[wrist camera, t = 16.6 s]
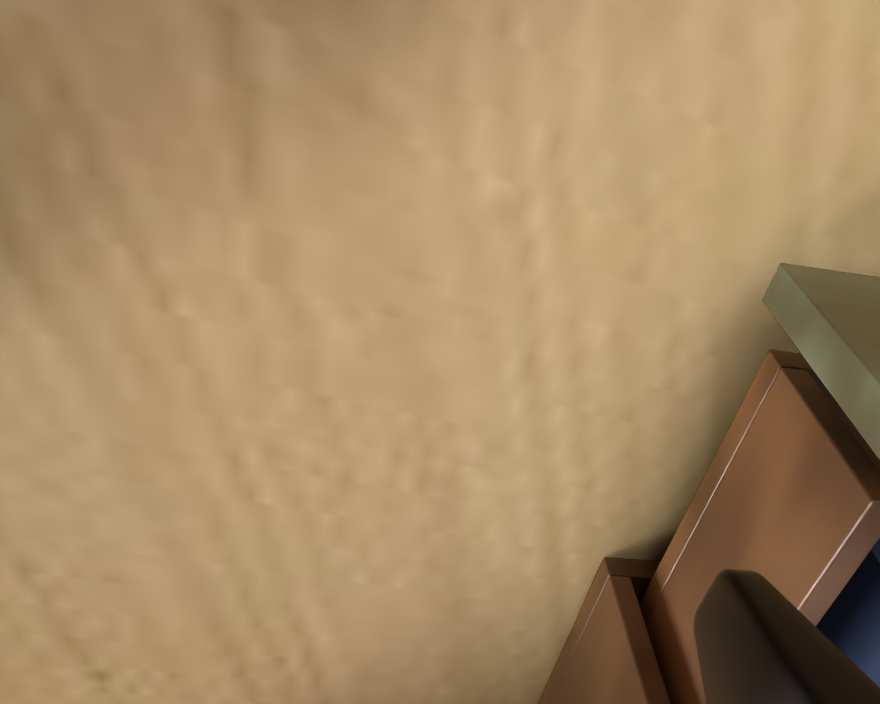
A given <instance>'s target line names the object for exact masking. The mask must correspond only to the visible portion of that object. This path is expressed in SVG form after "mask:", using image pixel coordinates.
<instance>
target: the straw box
mask: <svg viewBox="0 0 880 704" xmlns="http://www.w3.org/2000/svg"><path fill="white" fill-rule="evenodd" d="M816 627H817V628H818V629H819V630H820V631H821V632H822V633H823V634H824V635H825V636H826V637H827V638H828V639H829V640H830V641H831V642H832V643H834V644H835V645H836V646H837V647H838V648H839V649H840V650H841V651H842V652H843V653H844V654H845V655H846V656H847V657H848V658H849V659H850V660H851V661H852V662H853V663H854V664H855V665H856V666H858V667H859V668H860V669H861V670H862V671H863V672H864V673H865V674H866V675H867V676H868V677H869V678H870V679H871V680H872V681H873V682H874V683H875V684H876V685H877V686H878V687H879V688H880V538H879V540H878V541H877V543H876V544H875V545H874V547H873V548H872V549H871V551H870V552H869V554H868V555H867V556H866V558H865V559H864V561H863V562H862V563H861V565H860V566H859V567H858V569H857V570H856V572H855V573H854V574H853V576H852V577H851V578H850V580H849V581H848V583H847V584H846V585H845V587H844V588H843V590H842V591H841V592H840V594H839V595H838V596H837V598H836V599H835V601H834V602H833V603H832V605H831V606H830V608H829V609H828V610H827V612H826V613H825V614H824V616H823V617H822V619H821V620H820V621H819V623H818V624H817V625H816Z"/></svg>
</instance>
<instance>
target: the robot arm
mask: <svg viewBox="0 0 880 704" xmlns="http://www.w3.org/2000/svg"><path fill="white" fill-rule="evenodd" d="M693 631H694V638H695V643H696V649H697V655H698V661H699V667H700V672H701V678H702V684H703V690H704V696H705V701H706V704H880V688H879V687H878V686H877V685H876V684H875V683H874V682H873V681H872V680H871V679H870V678H869V677H868V676H867V675H866V674H865V673H864V672H863V671H862V670H861V669H860V668H859V667H858V666H856V665H855V664H854V663H853V662H852V661H851V660H850V659H849V658H848V657H847V656H846V655H845V654H844V653H843V652H842V651H841V650H840V649H839V648H838V647H837V646H836V645H835V644H834V643H832V642H831V641H830V640H829V639H828V638H827V637H826V636H825V635H824V634H823V633H822V632H821V631H820V630H819V629H818V628H817V627H816V626H815V625H814V624H813V623H812V622H811V621H809V620H808V619H807V618H806V617H805V616H804V615H803V614H802V613H801V612H800V611H799V610H798V609H797V608H796V607H795V606H794V605H793V604H792V603H791V602H790V601H789V600H788V599H786V598H785V597H784V596H783V595H782V594H781V593H780V592H779V591H778V590H777V589H776V588H775V587H774V586H773V585H772V584H771V583H770V582H769V581H768V580H767V579H766V578H764V577H763V576H762V575H761V574H759V573H758V572H755V571H752V570H741V569H729V568H728V569H723V570H722V571H720V572H719V573H718V574H717V575H716V577H715V578H714V580H713V582H712V584H711V585H710V587H709V589H708V591H707V592H706V594H705V596H704V597H703V599H702V601H701V603H700V604H699V606H698V608H697V610H696V612H695V616H694V622H693Z"/></svg>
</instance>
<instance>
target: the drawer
mask: <svg viewBox="0 0 880 704" xmlns="http://www.w3.org/2000/svg"><path fill="white" fill-rule="evenodd" d="M763 302H764V304H765V305H766V306H767V308H768V309H769V311H770V312H771V313H772V315H773V316H774V317H775V319H776V320H777V321H778V323H779V324H780V325H781V327H782V328H783V330H784V331H785V332H786V334H787V335H788V336H789V338H790V339H791V340H792V342H793V343H794V344H795V346H796V347H797V349H798V350H799V351H800V353H801V354H799V353H792V352H784V351H776V350H769V352H768V354H767V356H766V358H765V360H764V361H763V363H762V365H761V367H760V369H759V371H758V373H757V375H756V377H755V379H754V381H753V383H752V385H751V387H750V389H749V391H748V393H747V395H746V397H745V399H744V400H743V402H742V404H741V406H740V408H739V410H738V412H737V414H736V416H735V418H734V420H733V422H732V424H731V426H730V428H729V430H728V432H727V434H726V436H725V438H724V439H723V441H722V443H721V445H720V447H719V449H718V451H717V453H716V455H715V457H714V459H713V461H712V463H711V465H710V467H709V469H708V471H707V473H706V475H705V477H704V478H703V480H702V482H701V484H700V486H699V488H698V490H697V492H696V494H695V496H694V498H693V500H692V502H691V504H690V506H689V508H688V510H687V512H686V514H685V516H684V517H683V519H682V521H681V523H680V525H679V527H678V529H677V531H676V533H675V535H674V537H673V539H672V541H671V543H670V545H669V547H668V549H667V551H666V553H665V555H664V556H663V558H662V560H661V562H660V564H659V566H658V568H657V570H656V572H655V574H654V576H653V578H652V580H651V582H650V584H649V586H648V588H647V590H646V592H645V594H644V595H643V597H642V599H641V601H640V603H639V606H640V609H641V612H642V615H643V619H644V622H645V625H646V628H647V631H648V634H649V637H650V641H651V644H652V647H653V650H654V653H655V656H656V659H657V662H658V666H659V669H660V672H661V675H662V678H663V681H664V684H665V688H666V691H667V694H668V697H669V700H670V703H671V704H706V701H705V696H704V690H703V684H702V678H701V672H700V667H699V661H698V655H697V649H696V643H695V638H694V631H693V622H694V616H695V612H696V610H697V608H698V606H699V604H700V603H701V601H702V599H703V597H704V596H705V594H706V592H707V591H708V589H709V587H710V585H711V584H712V582H713V580H714V578H715V577H716V575H717V574H718V573H719V572H720V571H722V570H723V569H728V568H729V569H741V570H752V571H755V572H758V573H759V574H761V575H762V576H763V577H764V578H766V579H767V580H768V581H769V582H770V583H771V584H772V585H773V586H774V587H775V588H776V589H777V590H778V591H779V592H780V593H781V594H782V595H783V596H784V597H785V598H786V599H788V600H789V601H790V602H791V603H792V604H793V605H794V606H795V607H796V608H797V609H798V610H799V611H800V612H801V613H802V614H803V615H804V616H805V617H806V618H807V619H808V620H809V621H811V622H812V623H813V624H814V625H815V626H816V625H817V624H818V623H819V621H820V620H821V619H822V617H823V616H824V614H825V613H826V612H827V610H828V609H829V608H830V606H831V605H832V603H833V602H834V601H835V599H836V598H837V596H838V595H839V594H840V592H841V591H842V590H843V588H844V587H845V585H846V584H847V583H848V581H849V580H850V578H851V577H852V576H853V574H854V573H855V572H856V570H857V569H858V567H859V566H860V565H861V563H862V562H863V561H864V559H865V558H866V556H867V555H868V554H869V552H870V551H871V549H872V548H873V547H874V545H875V544H876V543H877V541H878V540H879V538H880V277H874V276H867V275H860V274H853V273H846V272H839V271H833V270H826V269H819V268H812V267H805V266H798V265H791V264H785V263H780V264H779V266H778V269H777V271H776V273H775V275H774V277H773V279H772V281H771V283H770V285H769V287H768V289H767V291H766V293H765V295H764V297H763Z"/></svg>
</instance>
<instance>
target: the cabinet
mask: <svg viewBox="0 0 880 704" xmlns="http://www.w3.org/2000/svg"><path fill="white" fill-rule="evenodd" d="M659 564H660V562H658V561H646V560H633V559H620V558H608V557H605V558H604V560H603V562H602V564H601V566H600V568H599V571H598V573H597V575H596V577H595V580H594V582H593V584H592V586H591V588H590V591H589V593H588V595H587V597H586V599H585V602H584V604H583V606H582V608H581V611H580V613H579V615H578V617H577V619H576V622H575V624H574V626H573V628H572V630H571V633H570V635H569V637H568V639H567V641H566V644H565V646H564V648H563V650H562V653H561V655H560V657H559V659H558V661H557V664H556V666H555V668H554V670H553V672H552V675H551V677H550V679H549V681H548V684H547V686H546V688H545V690H544V692H543V695H542V697H541V699H540V701H539V703H538V704H671V703H670V700H669V697H668V694H667V691H666V688H665V684H664V681H663V678H662V675H661V672H660V669H659V666H658V662H657V659H656V656H655V653H654V650H653V647H652V644H651V641H650V637H649V634H648V631H647V628H646V625H645V622H644V619H643V615H642V612H641V609H640V606H639V603H640V601H641V599H642V597H643V595H644V594H645V592H646V590H647V588H648V586H649V584H650V582H651V580H652V578H653V576H654V574H655V572H656V570H657V568H658V566H659Z"/></svg>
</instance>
